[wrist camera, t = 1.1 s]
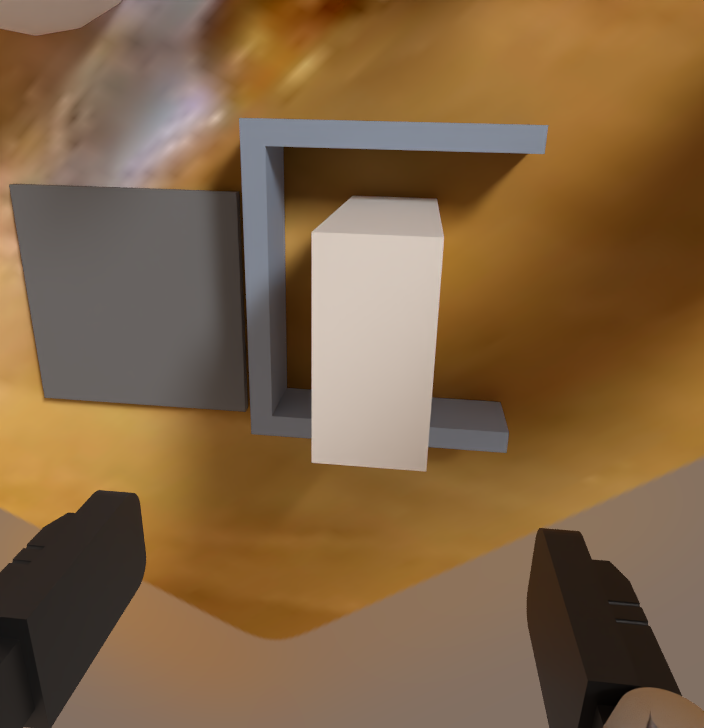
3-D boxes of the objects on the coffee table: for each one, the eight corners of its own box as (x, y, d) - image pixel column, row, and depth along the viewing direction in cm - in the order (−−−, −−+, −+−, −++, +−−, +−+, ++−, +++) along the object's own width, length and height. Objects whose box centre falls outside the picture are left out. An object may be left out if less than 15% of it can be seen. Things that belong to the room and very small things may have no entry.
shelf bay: (533, 126, 31) (548, 125, 27) (498, 420, 37) (506, 452, 33) (260, 119, 32) (239, 117, 29) (268, 404, 38) (251, 434, 34)
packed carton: (436, 198, 33) (444, 237, 21) (425, 357, 36) (426, 471, 24) (352, 195, 33) (311, 232, 21) (349, 352, 36) (311, 462, 24)
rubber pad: (239, 191, 34) (236, 192, 33) (248, 407, 38) (245, 411, 38) (15, 183, 35) (9, 184, 34) (50, 393, 40) (44, 397, 39)
